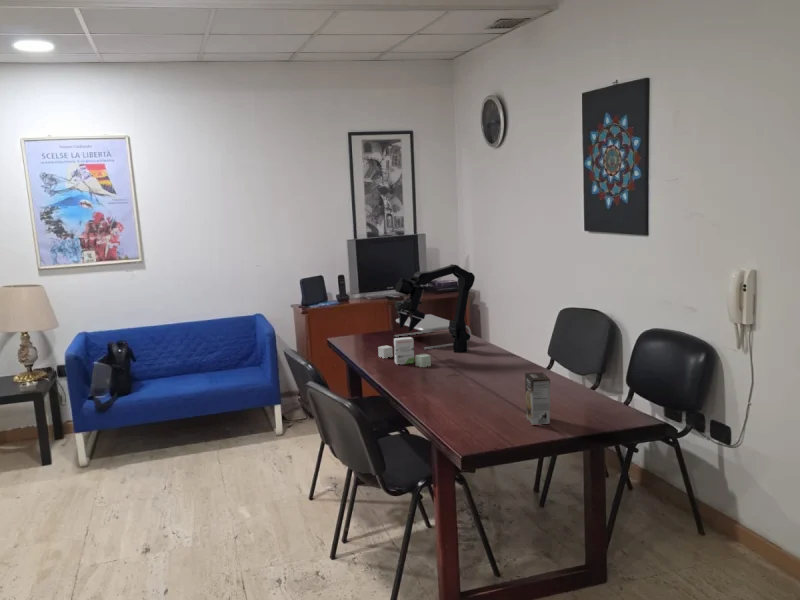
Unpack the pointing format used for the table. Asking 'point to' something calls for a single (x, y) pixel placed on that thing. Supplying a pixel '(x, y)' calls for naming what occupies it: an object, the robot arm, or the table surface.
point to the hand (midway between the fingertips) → (404, 329)
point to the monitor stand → (430, 327)
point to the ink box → (404, 350)
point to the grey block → (385, 351)
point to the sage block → (423, 360)
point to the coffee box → (537, 398)
